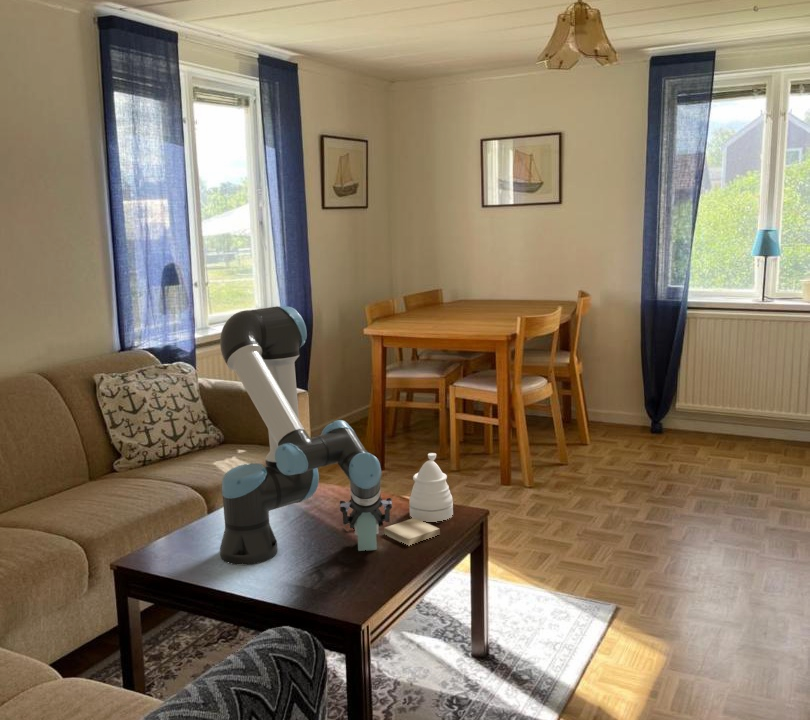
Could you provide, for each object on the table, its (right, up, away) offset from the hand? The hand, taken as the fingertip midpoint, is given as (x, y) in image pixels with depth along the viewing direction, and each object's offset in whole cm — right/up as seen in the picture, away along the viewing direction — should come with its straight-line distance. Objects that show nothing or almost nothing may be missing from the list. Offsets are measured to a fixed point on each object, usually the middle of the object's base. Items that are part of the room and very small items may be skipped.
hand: (366, 529), depth 231 cm
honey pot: (+18, +1, +19) cm, 26 cm away
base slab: (+13, -3, +4) cm, 13 cm away
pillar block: (0, -4, -3) cm, 5 cm away
